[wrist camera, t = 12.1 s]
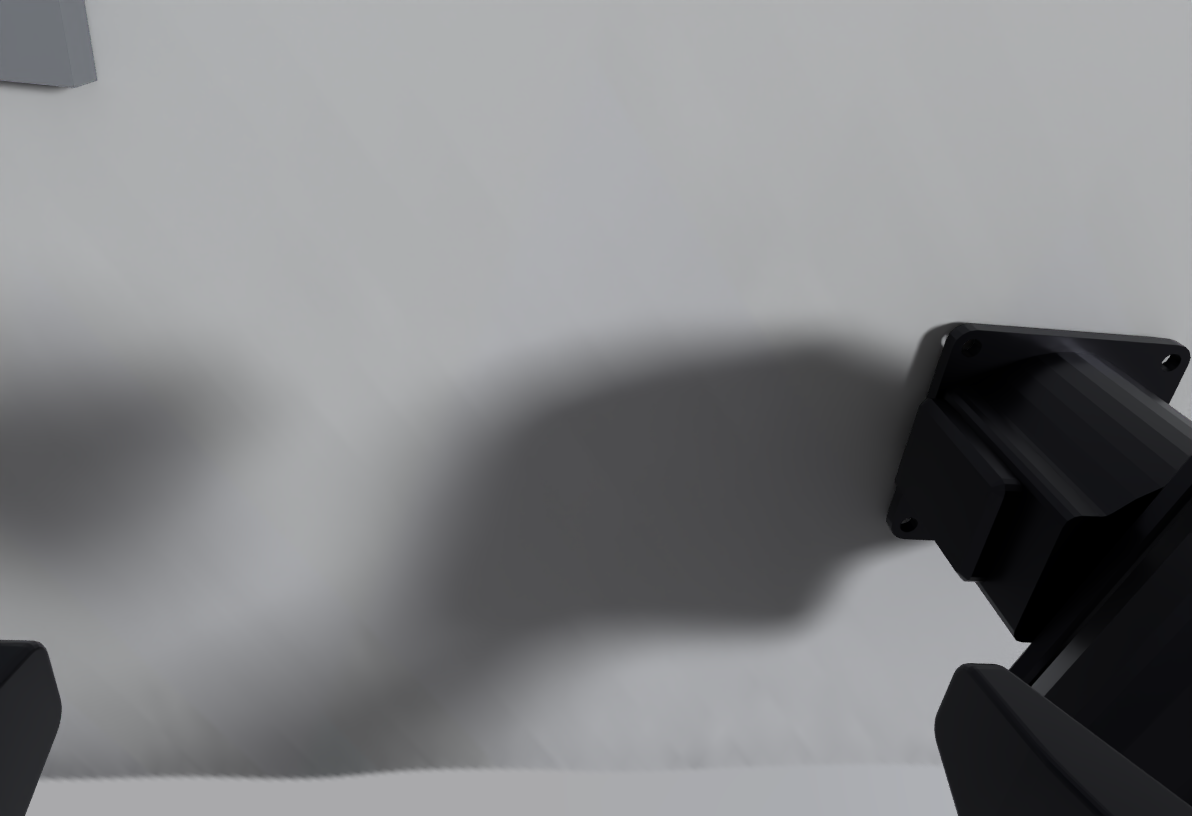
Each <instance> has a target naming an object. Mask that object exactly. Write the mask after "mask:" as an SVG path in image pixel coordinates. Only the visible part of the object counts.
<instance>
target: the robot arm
mask: <svg viewBox="0 0 1192 816" xmlns="http://www.w3.org/2000/svg"><path fill="white" fill-rule="evenodd" d="M971 339H974V343H973V345H972V346H971V347H970V348H969V349H967V350H963V351H962V347H963V345H964V343H965V342H967V341H968V340H971ZM1169 355H1170V357H1169V359H1168V360H1167V361H1166V362H1164V363H1163V364H1162V361H1163V360H1164V359H1165V358H1166V357H1167V356H1169ZM1190 358H1191V357H1190V351H1189V350H1188V349H1187V348H1186V347H1185V346H1183V345H1181V344H1180V343H1178V342H1177V341H1175V340H1171V339H1165V338H1152V337H1139V336H1126V335H1113V334H1100V333H1087V332H1074V331H1061V330H1048V329H1035V328H1022V327H1008V326H995V325H982V324H963V325H961V326H959V327H957V328H955V329H954V330H953V331H952V332H951V333H950V334H949V336H948V337H947V339H946V341H945V344H944V347H943V350H942V353H941V356H940V359H939V362H938V365H937V368H936V371H935V374H934V377H933V380H932V383H931V386H930V389H929V392H928V395H927V398H926V400H925V401H924V402H923V403H922V404H921V405H920V406H919V409H918V412H917V415H916V418H915V421H914V424H913V427H912V430H911V433H910V436H909V439H908V442H907V445H906V448H905V451H904V454H903V457H902V460H901V463H900V466H899V469H898V472H897V475H896V478H895V483H896V485H897V487H896V490H895V493H894V496H893V499H892V501H891V504H890V507H889V510H888V513H887V518H886V522H887V524H888V526H889V528H890V530H891V531H892V533H893V534H894V535H895V536H896V537H898V538H901V539H914V540H934V541H935V542H936V543H937V545H938V546H939V548H940V549H941V551H942V552H943V554H944V555H945V557H946V558H947V560H948V561H949V563H950V564H951V565H952V567H953V568H954V570H955V571H956V573H957V574H958V575H959V577H960V578H961V579H962V580H963V581H967V582H976V584H977V585H978V587H979V588H980V590H981V591H982V592H983V594H984V595H985V597H986V598H987V600H988V601H989V602H990V604H991V605H992V607H993V608H994V610H995V611H996V612H997V614H998V615H999V617H1000V618H1001V620H1002V621H1003V622H1004V624H1005V625H1006V627H1007V628H1008V629H1009V631H1010V632H1011V634H1012V635H1013V637H1014V638H1015V639H1016V641H1019V642H1030V643H1031V644H1030V645H1029V646H1028V648H1027V649H1026V650H1025V651H1024V652H1023V653H1022V655H1021V656H1020V657H1019V658H1018V659H1017V660H1016V662H1015V663H1014V664H1013V665H1012V666H1011V668H1010V669H1009V670H1008V669H1006V668H1004V667H1003V666H1000V665H996V664H976V663H966V664H962V665H961V666H960V667H958V668H957V669H956V671H955V673H954V675H953V677H952V679H951V682H950V684H949V686H948V689H947V691H946V693H945V696H944V698H943V700H942V703H941V705H940V707H939V709H938V712H937V714H936V718H935V727H934V731H935V738H936V743H937V746H938V749H939V753H940V756H941V760H942V763H943V766H944V770H945V773H946V777H947V780H948V783H949V786H950V790H951V793H952V797H953V800H954V803H955V807H956V810H957V814H958V816H1192V421H1191V420H1189V419H1188V418H1187V417H1185V416H1184V415H1182V414H1181V413H1180V412H1178V411H1177V410H1176V409H1174V408H1173V407H1171V406H1170V405H1169V403H1170V401H1171V399H1172V397H1173V395H1174V393H1175V391H1176V389H1177V387H1178V385H1179V383H1180V380H1181V378H1182V376H1183V374H1184V372H1185V370H1186V368H1187V366H1188V364H1189V361H1190ZM906 518H911V519H910V520H909V521H908V522H906V523H902V524H901V522H902V521H903V520H905V519H906ZM61 712H62V706H61V699H60V695H59V692H58V688H57V684H56V681H55V677H54V673H53V670H52V666H51V662H50V659H49V655H48V652H47V650H46V648H45V647H44V646H43V645H42V644H41V643H40V642H36V641H26V640H0V816H25V814H26V812H27V809H28V806H29V804H30V801H31V799H32V796H33V793H34V791H35V788H36V786H37V783H38V780H39V778H40V775H41V773H42V770H43V767H44V765H45V762H46V760H47V757H48V754H49V752H50V749H51V747H52V744H53V741H54V739H55V736H56V734H57V731H58V728H59V724H60V720H61Z"/></svg>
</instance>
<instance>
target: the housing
mask: <svg viewBox="0 0 1192 816" xmlns="http://www.w3.org/2000/svg"><path fill="white" fill-rule="evenodd" d="M0 81H10V82H21V83H31V84H41V85H51V86H61V87H71V88H75V87H79V86H82V85H85V84H88V83H91V82H94V81H97V76H96V69H95V63H94V57H93V51H92V45H91V39H90V33H89V27H88V21H87V14H86V8H85V2H84V0H0Z"/></svg>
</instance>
